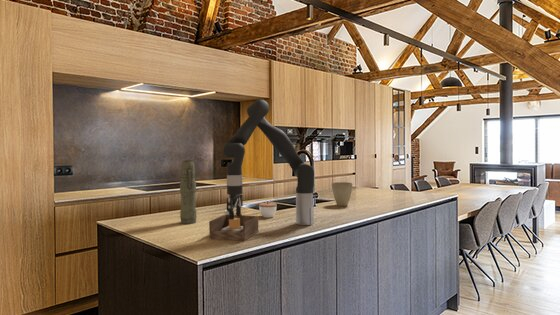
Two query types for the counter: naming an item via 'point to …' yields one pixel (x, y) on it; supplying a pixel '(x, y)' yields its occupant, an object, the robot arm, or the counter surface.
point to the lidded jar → (267, 209)
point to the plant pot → (342, 192)
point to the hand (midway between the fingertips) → (235, 217)
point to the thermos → (188, 193)
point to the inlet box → (222, 231)
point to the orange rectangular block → (234, 223)
